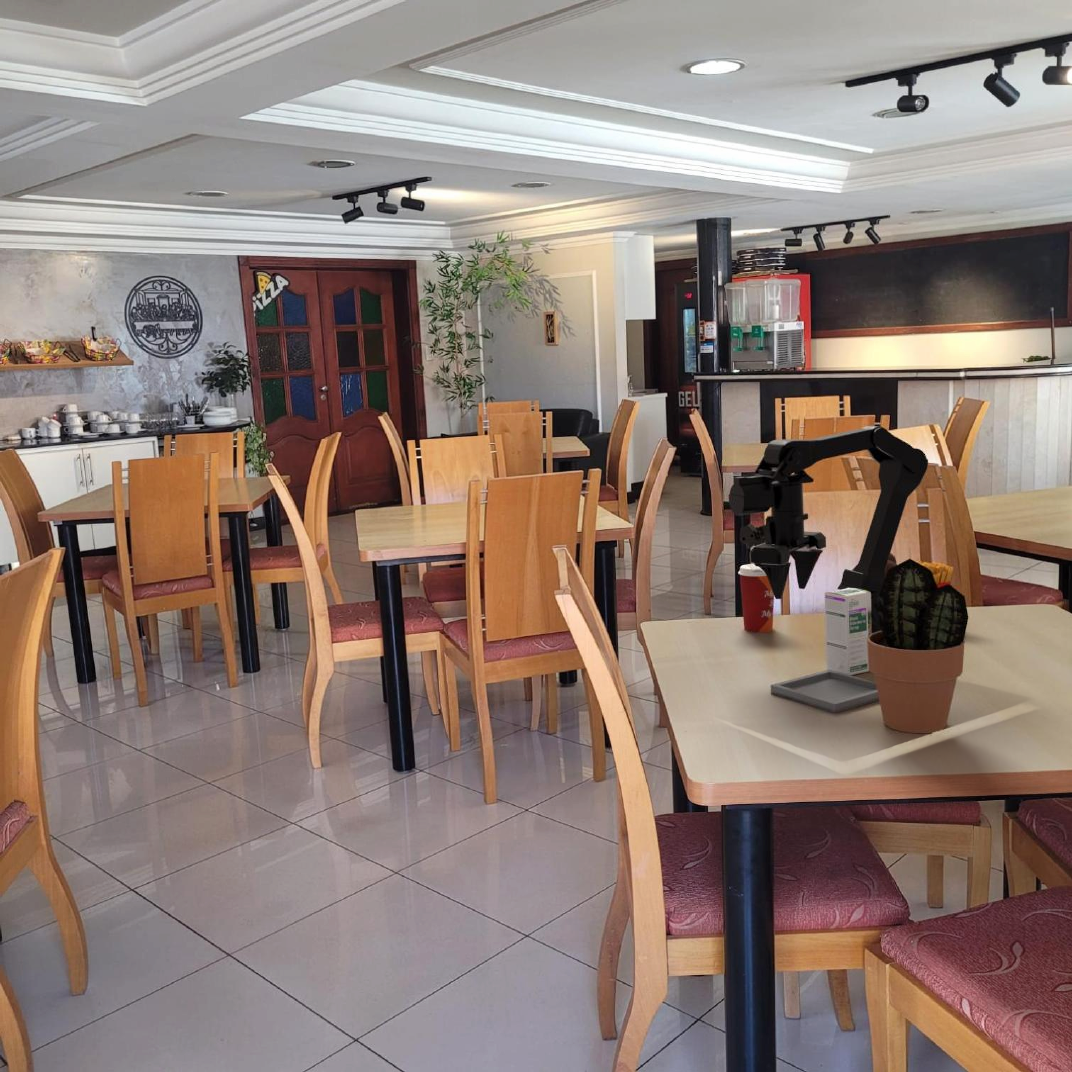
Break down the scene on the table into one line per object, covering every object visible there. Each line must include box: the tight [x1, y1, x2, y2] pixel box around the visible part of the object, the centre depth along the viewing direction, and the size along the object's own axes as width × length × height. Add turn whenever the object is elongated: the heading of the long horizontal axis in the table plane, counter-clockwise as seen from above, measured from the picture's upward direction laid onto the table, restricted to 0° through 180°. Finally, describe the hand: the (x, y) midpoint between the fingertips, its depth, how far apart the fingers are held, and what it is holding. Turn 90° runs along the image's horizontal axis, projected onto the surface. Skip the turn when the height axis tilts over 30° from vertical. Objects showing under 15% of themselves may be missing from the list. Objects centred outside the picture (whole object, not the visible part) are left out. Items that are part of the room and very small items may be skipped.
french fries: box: [914, 560, 954, 588], centre depth 217 cm, size 9×4×13 cm, turn 55°
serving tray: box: [770, 669, 880, 714], centre depth 175 cm, size 14×14×2 cm
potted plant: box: [867, 558, 969, 734], centre depth 157 cm, size 14×14×25 cm
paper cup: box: [737, 563, 775, 633], centre depth 218 cm, size 8×8×14 cm
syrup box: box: [824, 588, 872, 676], centre depth 187 cm, size 6×6×14 cm
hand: (790, 593), depth 193 cm, fingers open, 9 cm apart
